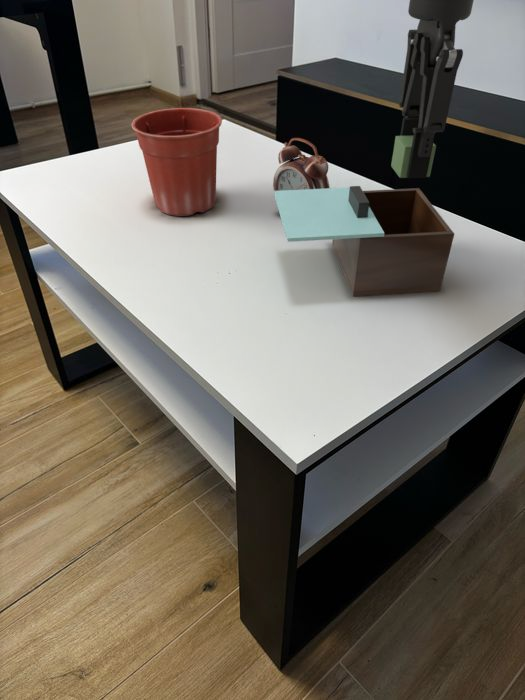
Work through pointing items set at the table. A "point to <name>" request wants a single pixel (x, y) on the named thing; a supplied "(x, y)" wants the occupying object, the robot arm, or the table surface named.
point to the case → (397, 247)
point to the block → (406, 155)
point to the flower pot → (180, 157)
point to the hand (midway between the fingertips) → (410, 169)
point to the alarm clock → (300, 169)
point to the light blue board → (326, 214)
